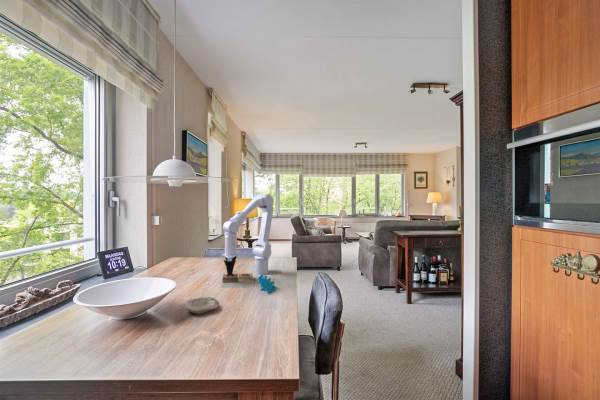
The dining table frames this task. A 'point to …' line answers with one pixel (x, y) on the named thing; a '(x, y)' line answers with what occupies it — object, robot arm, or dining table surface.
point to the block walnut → (230, 278)
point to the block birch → (245, 277)
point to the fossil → (201, 305)
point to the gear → (266, 284)
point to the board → (238, 284)
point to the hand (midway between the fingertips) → (230, 272)
